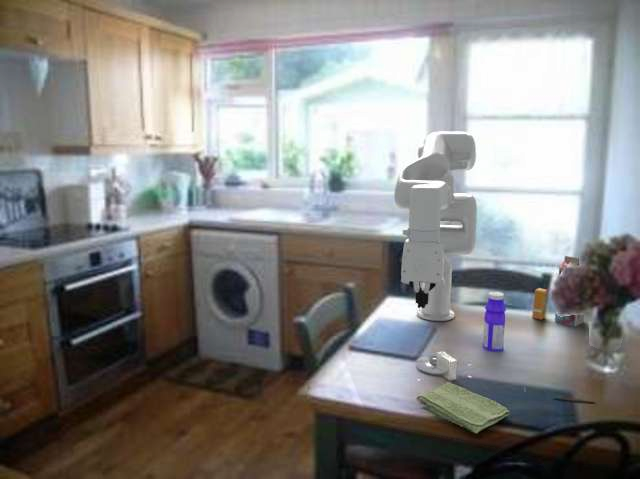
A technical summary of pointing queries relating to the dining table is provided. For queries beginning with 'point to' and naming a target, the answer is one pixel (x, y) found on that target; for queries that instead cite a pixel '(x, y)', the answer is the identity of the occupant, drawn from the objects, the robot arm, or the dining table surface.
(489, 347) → the bottle
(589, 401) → the fork
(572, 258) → the juice carton
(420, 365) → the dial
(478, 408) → the washcloth
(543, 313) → the supplement box
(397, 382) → the dining table surface
